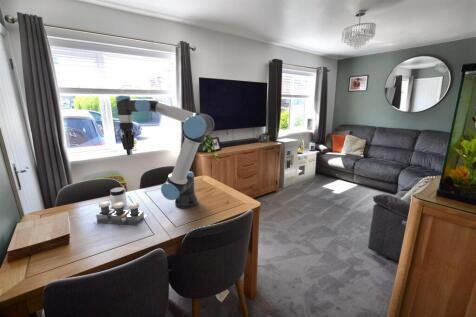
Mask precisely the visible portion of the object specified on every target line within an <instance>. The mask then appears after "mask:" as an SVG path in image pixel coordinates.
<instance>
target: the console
mask: <svg viewBox="0 0 476 317" xmlns="http://www.w3.org/2000/svg"><path fill="white" fill-rule="evenodd" d="M109 211H110V212H109V213H108V214H102V212H101V210H100V211H99V212H98V213H95V215H96V216H95V217H96V220H95V221H94V222H93V224H97V225H98V224H99V225H101V224H103V225H118V226H132V227H133V226H136V227H137V226H138V225H139V224H140V223H141V222H142V221H143V220H144V219H145V218H146V217H147V216H148V215H147V214H145V213H144V210H138V213H139V214H138V215H137V216H131V211H130V209H129V210H127V209H124V213H127V216H126V219H127V223H125V224H122V219H121V216H120V215H116V209H114V208H113V209H112V208H111V209H110V208H109Z"/></svg>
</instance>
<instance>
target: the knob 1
mask: <svg viewBox="0 0 476 317" xmlns="http://www.w3.org/2000/svg"><path fill="white" fill-rule="evenodd" d="M110 206H111V201H106V200H105V201H101V202H99V203H98V208H100V211H101V212H102V214H108V213H109V212H110V211H109V209H110Z"/></svg>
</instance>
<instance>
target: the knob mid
mask: <svg viewBox="0 0 476 317" xmlns="http://www.w3.org/2000/svg"><path fill="white" fill-rule="evenodd" d="M113 206H114V207H113V209H114V210H115V212H116V215H121V214H122V213H124V210H125V209H124V207H126V206H125V205H124V203H123V202H118V203H115V204H114V205H113Z"/></svg>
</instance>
